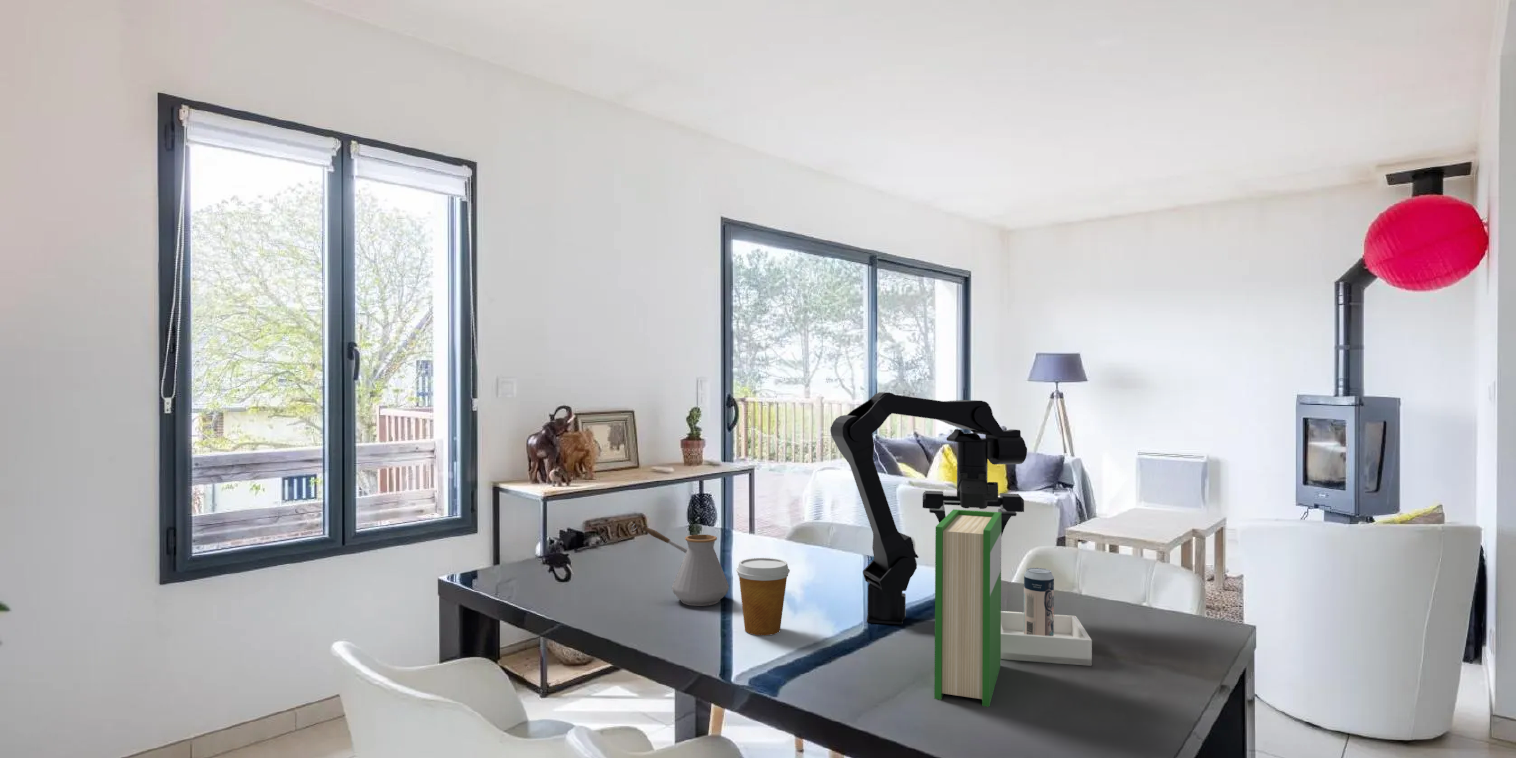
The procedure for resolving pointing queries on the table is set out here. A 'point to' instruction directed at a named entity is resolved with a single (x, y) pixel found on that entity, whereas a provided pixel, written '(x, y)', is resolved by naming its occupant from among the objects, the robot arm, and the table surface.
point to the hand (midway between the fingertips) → (971, 545)
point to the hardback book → (968, 604)
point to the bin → (1045, 641)
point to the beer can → (1038, 602)
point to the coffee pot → (696, 570)
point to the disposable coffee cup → (762, 593)
